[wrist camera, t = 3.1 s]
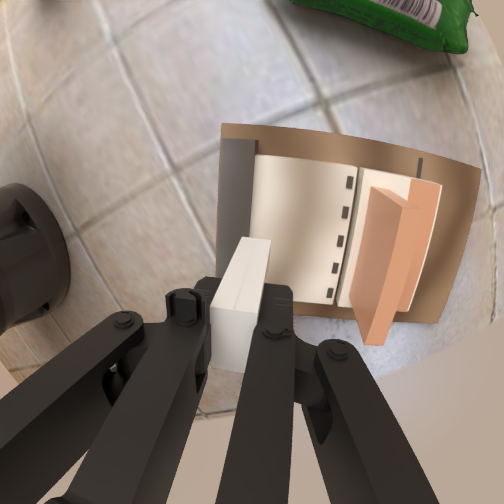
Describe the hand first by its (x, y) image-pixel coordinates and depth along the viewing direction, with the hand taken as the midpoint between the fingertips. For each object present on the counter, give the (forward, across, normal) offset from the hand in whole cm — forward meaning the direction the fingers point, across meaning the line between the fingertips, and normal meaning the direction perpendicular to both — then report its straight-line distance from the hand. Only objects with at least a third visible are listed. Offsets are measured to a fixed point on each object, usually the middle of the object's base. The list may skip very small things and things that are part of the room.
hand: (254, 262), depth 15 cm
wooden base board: (+7, +7, 0) cm, 10 cm away
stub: (+6, +9, 0) cm, 11 cm away
